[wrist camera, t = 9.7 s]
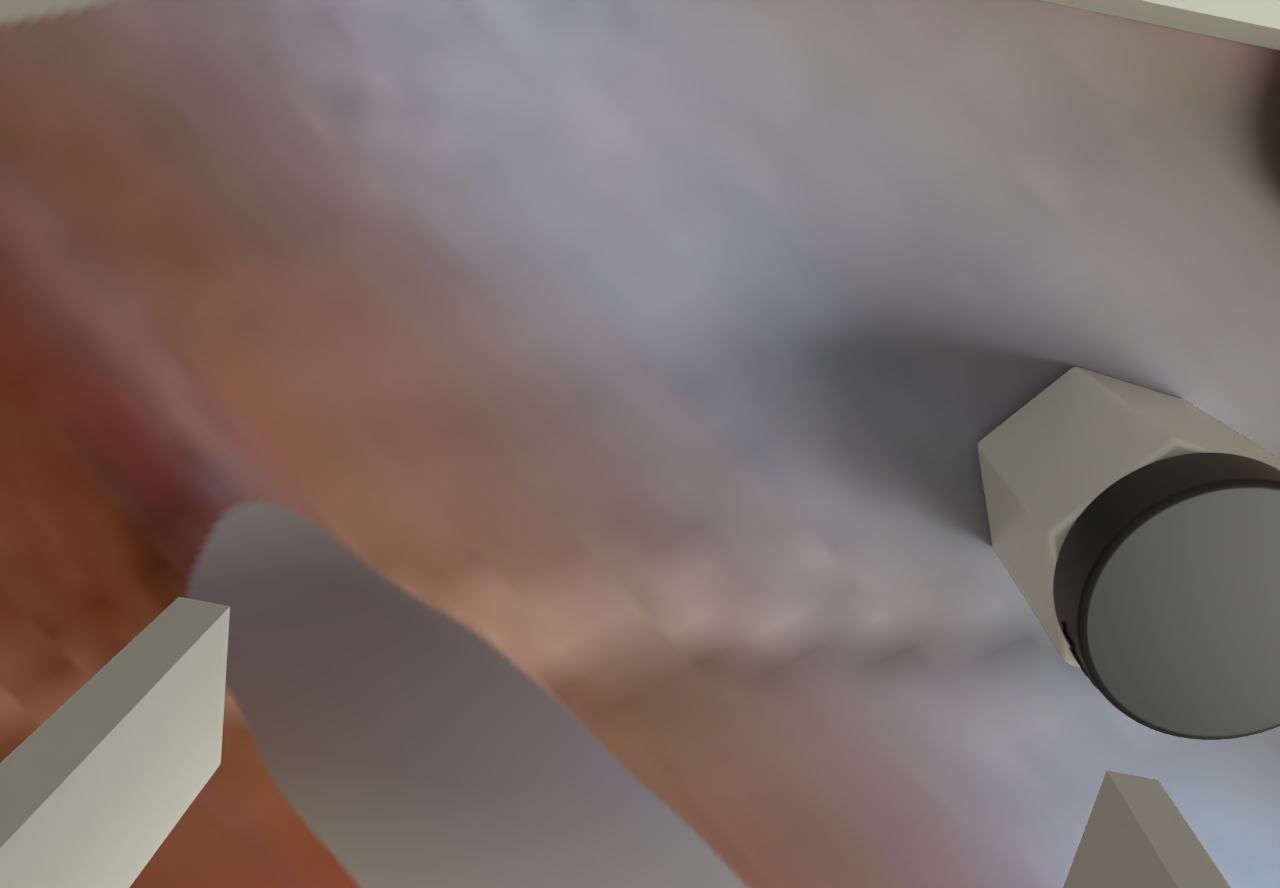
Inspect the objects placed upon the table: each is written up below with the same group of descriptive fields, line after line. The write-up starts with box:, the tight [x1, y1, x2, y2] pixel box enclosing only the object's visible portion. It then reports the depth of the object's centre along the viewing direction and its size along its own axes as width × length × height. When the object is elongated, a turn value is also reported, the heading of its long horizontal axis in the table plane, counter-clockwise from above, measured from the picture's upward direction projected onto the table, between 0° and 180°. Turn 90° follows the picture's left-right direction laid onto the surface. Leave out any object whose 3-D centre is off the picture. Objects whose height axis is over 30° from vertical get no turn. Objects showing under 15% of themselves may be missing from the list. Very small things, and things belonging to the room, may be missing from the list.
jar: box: [977, 367, 1280, 740], centre depth 35 cm, size 9×8×12 cm
